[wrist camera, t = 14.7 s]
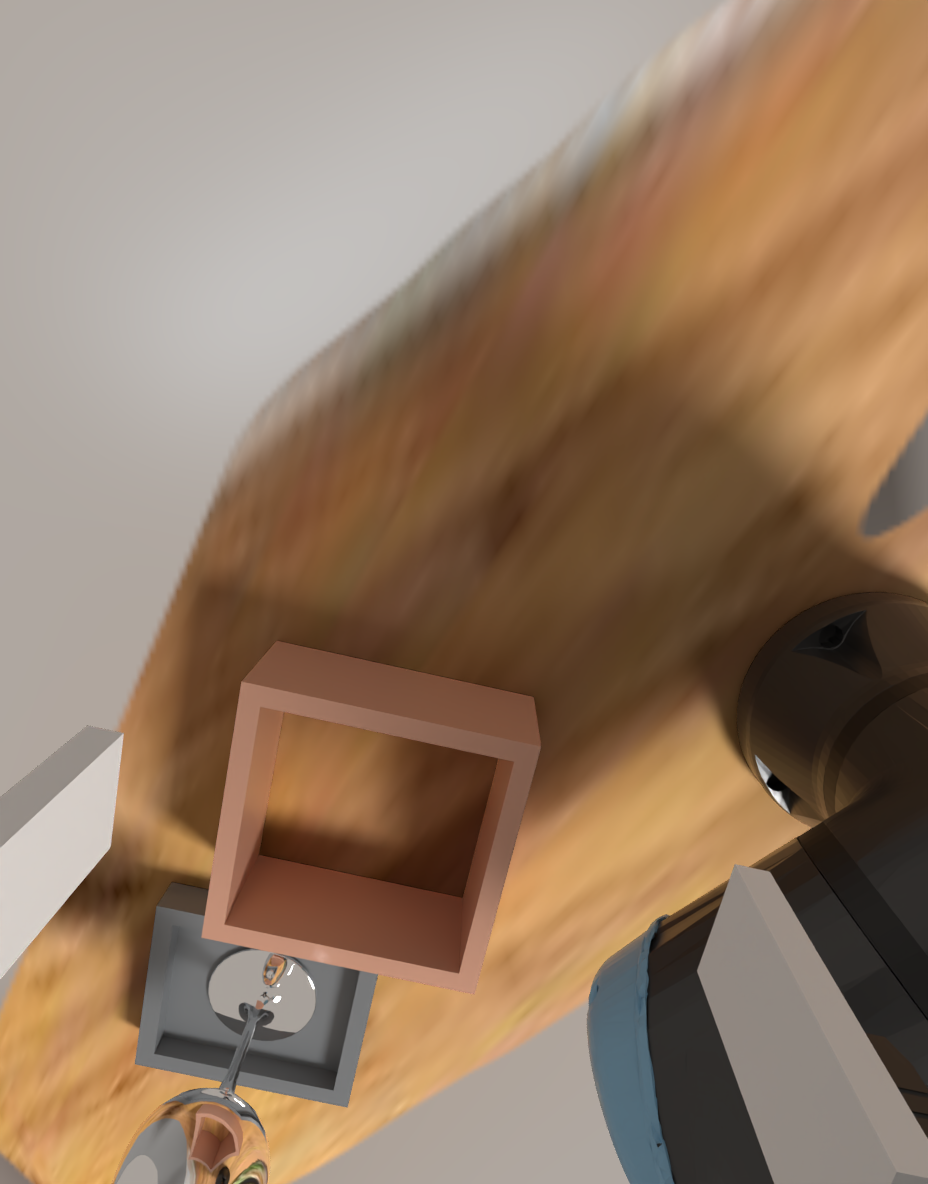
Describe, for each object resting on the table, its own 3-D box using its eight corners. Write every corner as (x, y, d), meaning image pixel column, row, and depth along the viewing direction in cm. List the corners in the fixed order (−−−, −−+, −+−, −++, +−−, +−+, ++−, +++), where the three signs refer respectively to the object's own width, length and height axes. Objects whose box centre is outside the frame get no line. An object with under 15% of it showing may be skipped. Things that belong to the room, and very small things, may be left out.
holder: (533, 696, 48) (541, 746, 41) (476, 916, 52) (474, 994, 45) (276, 640, 48) (241, 681, 41) (238, 866, 52) (201, 937, 45)
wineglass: (318, 1043, 54) (222, 1408, 34) (208, 1034, 54) (51, 1393, 35) (320, 949, 52) (220, 1280, 33) (206, 940, 52) (38, 1264, 33)
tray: (387, 927, 52) (382, 953, 50) (353, 1076, 56) (347, 1107, 53) (172, 882, 52) (156, 905, 50) (150, 1034, 55) (134, 1064, 53)
